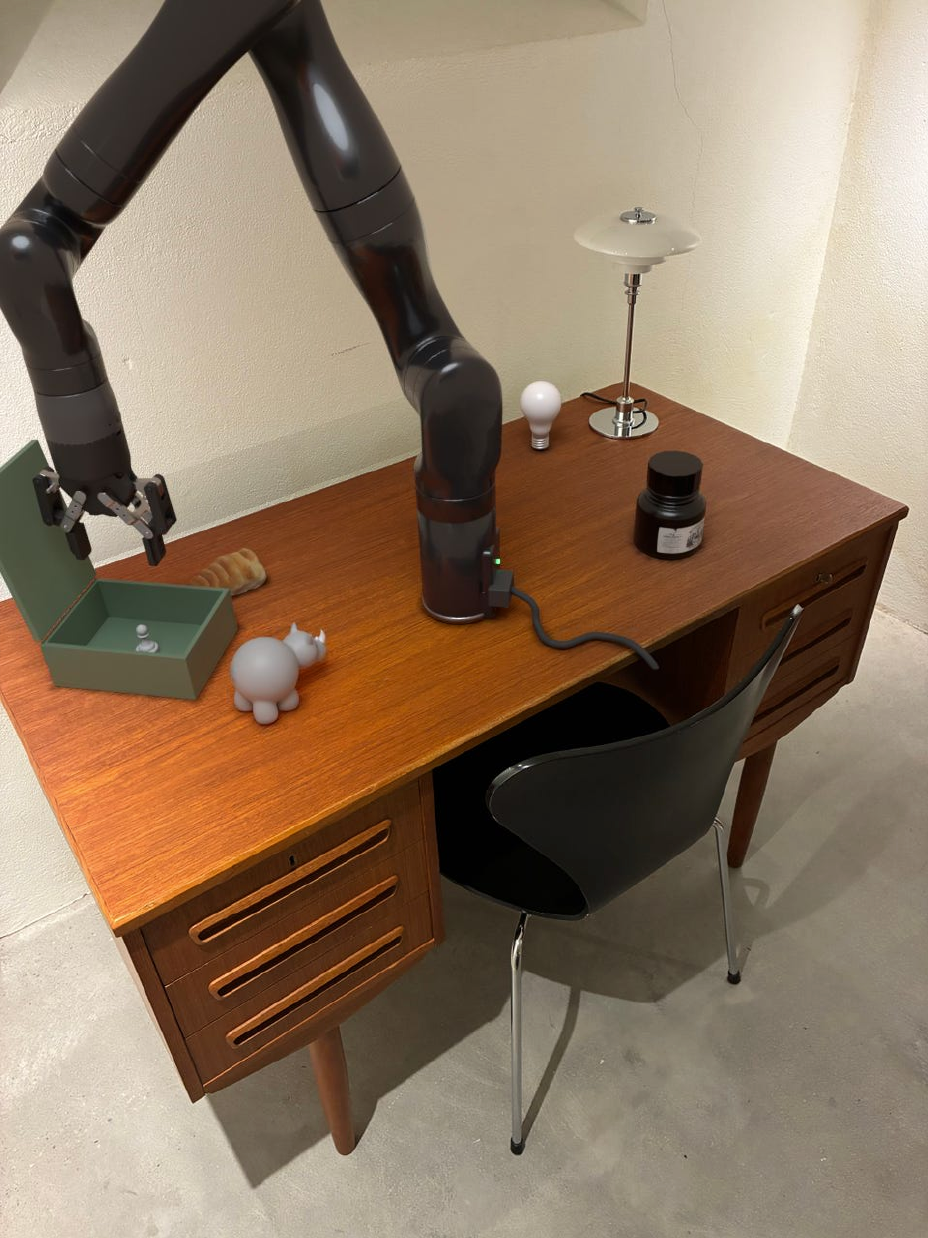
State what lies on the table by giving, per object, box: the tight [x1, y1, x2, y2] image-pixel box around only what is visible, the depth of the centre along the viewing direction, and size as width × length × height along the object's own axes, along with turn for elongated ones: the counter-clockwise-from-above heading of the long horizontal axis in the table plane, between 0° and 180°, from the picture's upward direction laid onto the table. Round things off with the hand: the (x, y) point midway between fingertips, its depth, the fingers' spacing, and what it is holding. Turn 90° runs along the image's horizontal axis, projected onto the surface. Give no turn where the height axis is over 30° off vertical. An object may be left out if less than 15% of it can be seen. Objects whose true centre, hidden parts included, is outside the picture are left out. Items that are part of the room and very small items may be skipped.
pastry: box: [189, 547, 267, 597], centre depth 127 cm, size 9×7×4 cm
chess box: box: [39, 577, 239, 701], centre depth 115 cm, size 17×13×6 cm
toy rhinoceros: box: [229, 622, 327, 725], centre depth 108 cm, size 7×12×8 cm, turn 135°
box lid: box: [0, 439, 98, 643], centre depth 109 cm, size 18×13×1 cm
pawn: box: [136, 625, 159, 653], centre depth 115 cm, size 3×3×4 cm
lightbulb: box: [519, 380, 563, 451], centre depth 152 cm, size 6×6×11 cm
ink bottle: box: [633, 450, 707, 560], centre depth 129 cm, size 10×9×12 cm
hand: (120, 559), depth 109 cm, fingers open, 8 cm apart
